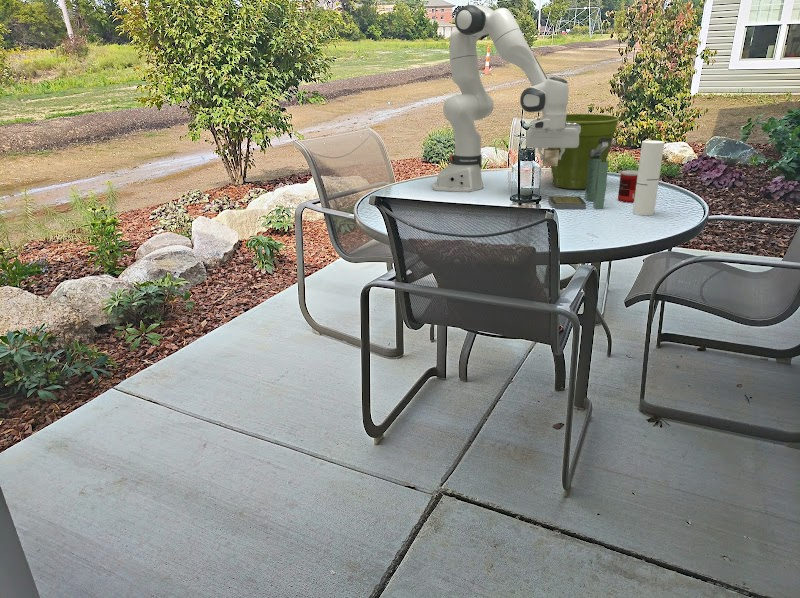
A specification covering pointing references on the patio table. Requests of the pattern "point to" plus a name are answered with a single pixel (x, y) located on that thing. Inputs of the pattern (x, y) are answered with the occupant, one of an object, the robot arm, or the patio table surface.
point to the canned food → (627, 185)
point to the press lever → (600, 147)
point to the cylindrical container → (648, 177)
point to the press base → (587, 188)
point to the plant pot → (583, 149)
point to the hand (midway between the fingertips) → (550, 159)
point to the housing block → (550, 157)
